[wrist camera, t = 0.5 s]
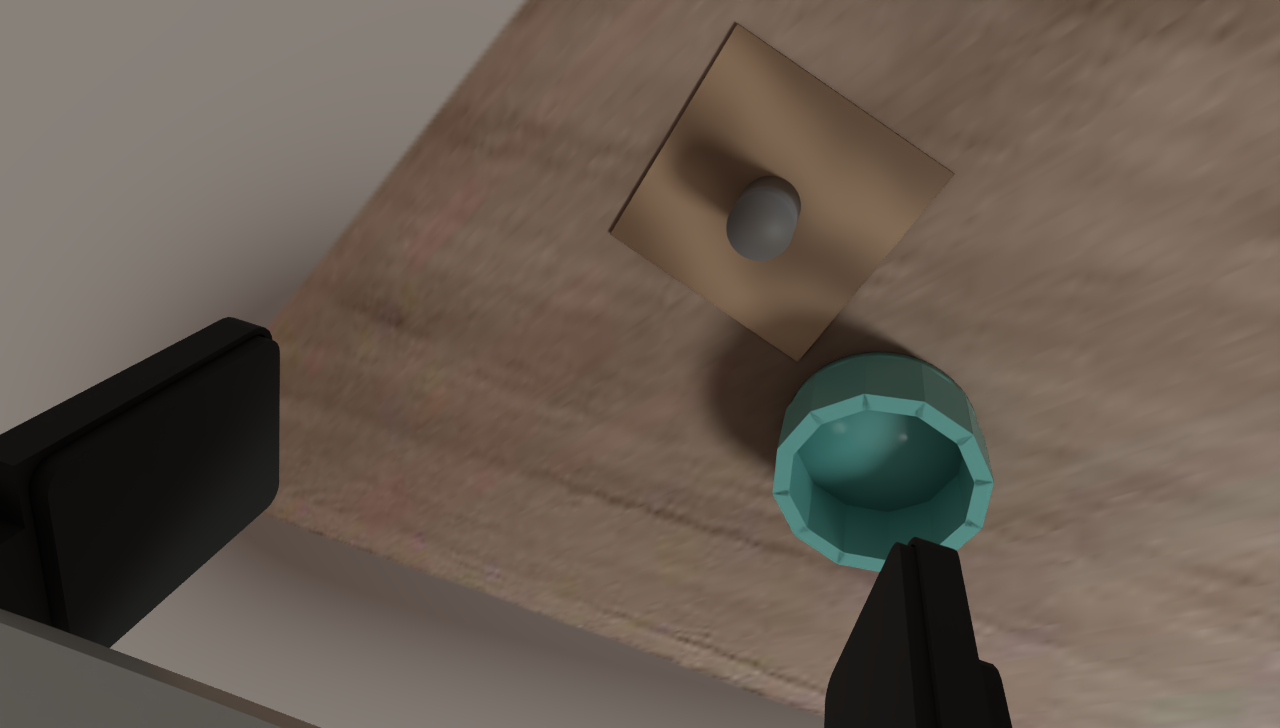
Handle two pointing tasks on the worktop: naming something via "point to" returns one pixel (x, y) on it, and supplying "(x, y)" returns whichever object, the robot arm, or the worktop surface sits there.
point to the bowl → (881, 459)
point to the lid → (776, 195)
